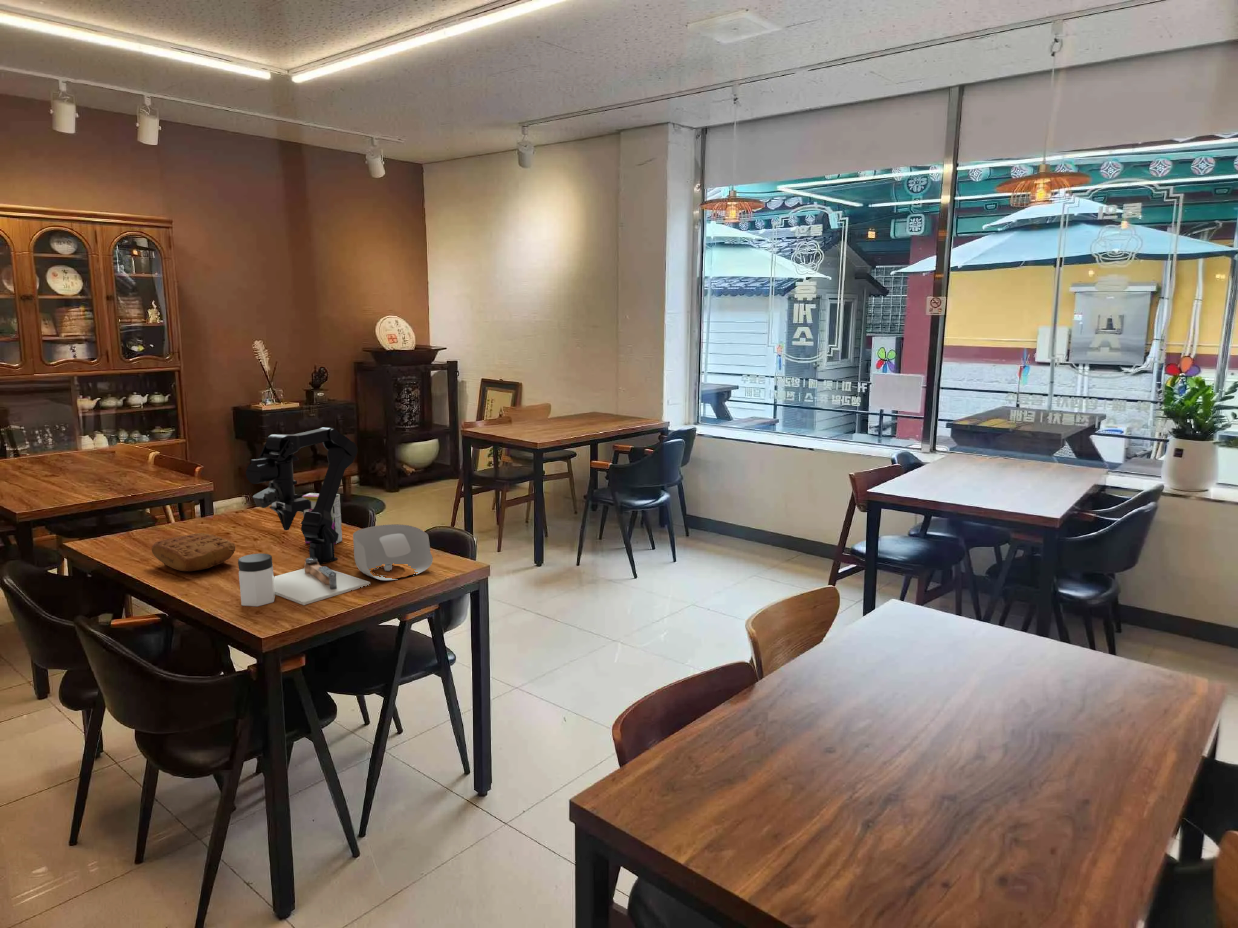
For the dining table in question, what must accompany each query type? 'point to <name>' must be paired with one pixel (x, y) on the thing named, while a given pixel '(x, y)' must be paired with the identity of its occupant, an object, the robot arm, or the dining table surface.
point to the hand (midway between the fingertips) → (286, 530)
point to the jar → (256, 579)
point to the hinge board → (313, 586)
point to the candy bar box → (334, 513)
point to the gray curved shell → (391, 548)
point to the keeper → (325, 572)
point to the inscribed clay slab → (193, 551)
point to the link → (316, 572)
